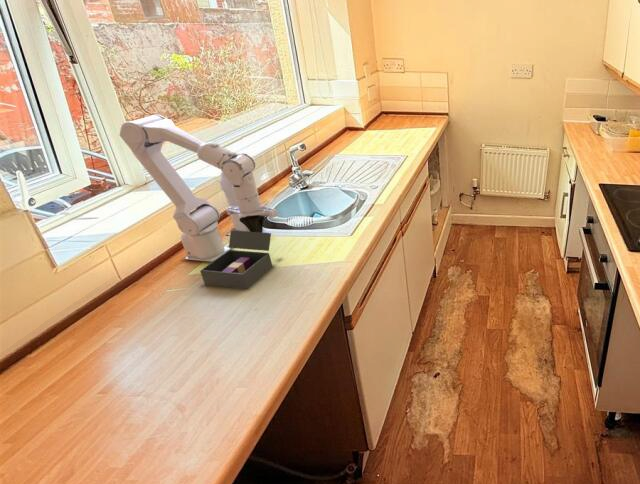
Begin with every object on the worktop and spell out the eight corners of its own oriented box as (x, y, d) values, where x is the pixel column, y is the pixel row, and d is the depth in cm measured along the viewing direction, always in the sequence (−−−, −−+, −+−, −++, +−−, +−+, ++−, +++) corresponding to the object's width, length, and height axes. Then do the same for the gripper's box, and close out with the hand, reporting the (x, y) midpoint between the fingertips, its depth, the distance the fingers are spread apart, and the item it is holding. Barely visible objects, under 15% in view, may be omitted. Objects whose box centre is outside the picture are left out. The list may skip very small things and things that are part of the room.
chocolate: (223, 283, 112) (219, 272, 111) (243, 267, 119) (240, 256, 118) (233, 284, 112) (229, 273, 110) (253, 267, 119) (250, 257, 118)
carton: (205, 285, 112) (199, 270, 110) (233, 263, 122) (229, 249, 120) (247, 288, 111) (242, 274, 109) (272, 266, 120) (269, 252, 118)
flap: (230, 230, 120) (232, 230, 120) (228, 247, 119) (229, 247, 120) (270, 233, 118) (271, 233, 119) (268, 250, 118) (268, 250, 118)
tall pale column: (229, 231, 139) (211, 172, 130) (238, 225, 143) (221, 168, 134) (257, 233, 138) (240, 174, 129) (265, 227, 142) (249, 170, 133)
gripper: (213, 199, 114) (226, 240, 119) (260, 203, 113) (271, 244, 118) (231, 190, 120) (243, 229, 126) (276, 192, 119) (286, 232, 124)
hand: (258, 235), depth 122 cm, fingers closed
